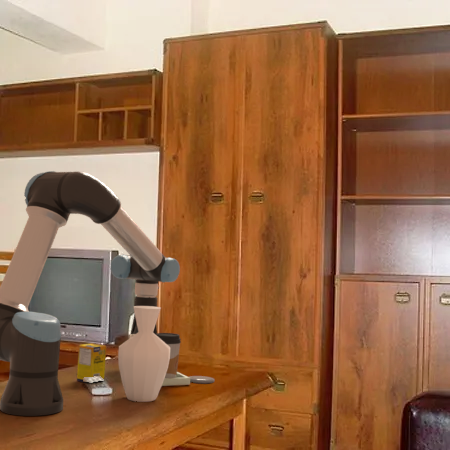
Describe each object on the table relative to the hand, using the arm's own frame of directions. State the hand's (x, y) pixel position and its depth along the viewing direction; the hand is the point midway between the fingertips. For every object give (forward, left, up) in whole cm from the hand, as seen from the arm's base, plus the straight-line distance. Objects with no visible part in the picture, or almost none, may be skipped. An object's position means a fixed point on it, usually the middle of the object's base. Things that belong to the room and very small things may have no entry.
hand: (142, 361), depth 230 cm
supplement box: (-21, -12, -3) cm, 24 cm away
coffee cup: (0, -20, -3) cm, 20 cm away
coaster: (+13, -18, -3) cm, 22 cm away
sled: (0, -12, -3) cm, 12 cm away
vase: (-14, -37, -3) cm, 40 cm away
